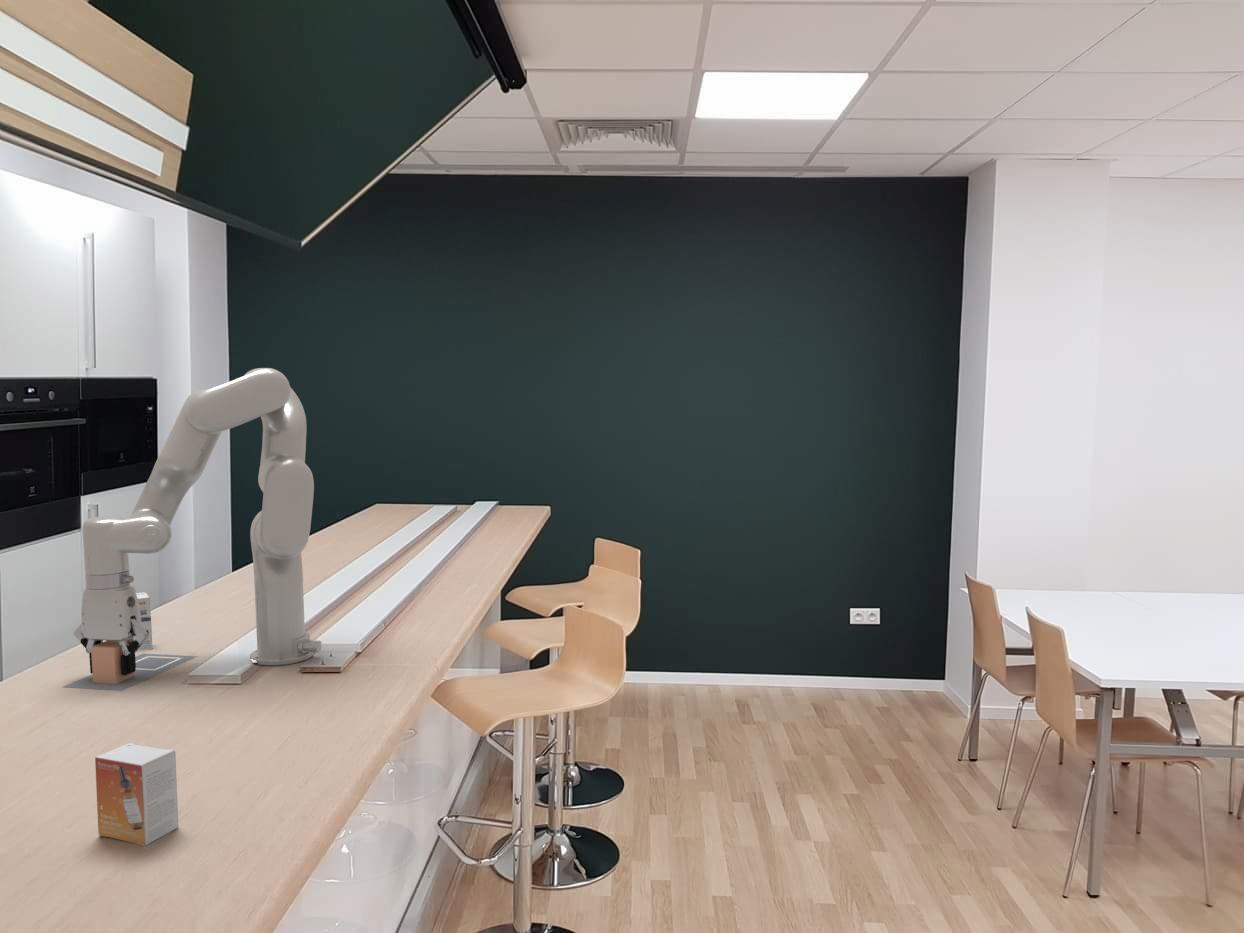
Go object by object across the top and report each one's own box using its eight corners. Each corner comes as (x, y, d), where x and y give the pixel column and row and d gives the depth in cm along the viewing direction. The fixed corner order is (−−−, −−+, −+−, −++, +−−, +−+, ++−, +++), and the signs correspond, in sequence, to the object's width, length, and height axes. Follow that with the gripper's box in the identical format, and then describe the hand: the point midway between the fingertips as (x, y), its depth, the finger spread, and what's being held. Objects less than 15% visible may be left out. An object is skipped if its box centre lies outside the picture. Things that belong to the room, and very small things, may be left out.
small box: (97, 836, 126) (92, 756, 125) (133, 818, 131) (129, 741, 130) (145, 847, 123) (140, 765, 122) (180, 827, 128) (176, 749, 127)
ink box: (109, 656, 209) (106, 600, 208) (106, 650, 213) (103, 596, 212) (153, 649, 214) (150, 595, 213) (150, 644, 218) (147, 591, 217)
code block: (133, 676, 193) (131, 640, 193) (116, 683, 188) (113, 647, 188) (111, 674, 194) (109, 639, 194) (93, 682, 189) (90, 646, 189)
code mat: (198, 657, 207) (197, 656, 207) (121, 692, 184) (121, 690, 184) (143, 654, 209) (143, 653, 209) (61, 688, 187) (61, 687, 187)
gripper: (160, 578, 192) (165, 669, 193) (82, 575, 195) (88, 665, 197) (134, 586, 184) (139, 680, 186) (54, 583, 188) (60, 676, 189)
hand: (113, 671), depth 191 cm, fingers open, 6 cm apart
